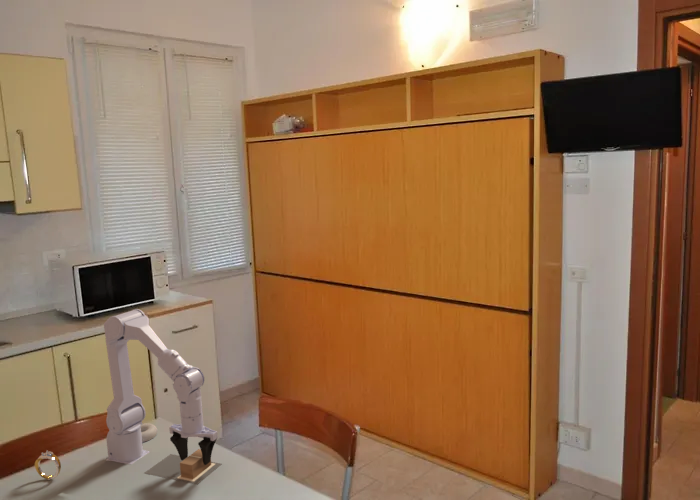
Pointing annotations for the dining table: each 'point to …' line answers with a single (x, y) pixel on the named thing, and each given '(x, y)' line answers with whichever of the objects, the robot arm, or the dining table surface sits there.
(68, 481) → the dining table surface
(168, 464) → the mat
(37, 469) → the ring
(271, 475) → the dining table surface
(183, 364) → the robot arm
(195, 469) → the brown rectangular block
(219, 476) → the dining table surface
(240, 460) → the dining table surface
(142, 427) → the donut
